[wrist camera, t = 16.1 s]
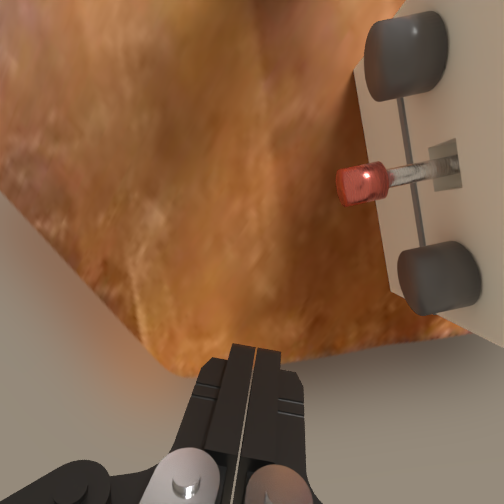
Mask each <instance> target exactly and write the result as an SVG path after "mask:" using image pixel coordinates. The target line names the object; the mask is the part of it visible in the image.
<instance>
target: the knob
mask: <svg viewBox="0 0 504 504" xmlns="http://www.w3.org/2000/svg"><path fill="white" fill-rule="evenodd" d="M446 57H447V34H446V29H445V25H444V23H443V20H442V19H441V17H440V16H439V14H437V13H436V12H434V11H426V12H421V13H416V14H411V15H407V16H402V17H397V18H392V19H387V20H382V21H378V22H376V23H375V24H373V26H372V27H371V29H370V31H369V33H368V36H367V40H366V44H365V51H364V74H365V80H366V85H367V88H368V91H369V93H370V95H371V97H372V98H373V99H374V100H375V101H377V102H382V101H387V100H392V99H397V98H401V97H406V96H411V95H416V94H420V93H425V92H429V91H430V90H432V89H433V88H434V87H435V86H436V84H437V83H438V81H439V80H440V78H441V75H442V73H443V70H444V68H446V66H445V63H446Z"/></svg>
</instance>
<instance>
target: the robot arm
mask: <svg viewBox="0 0 504 504" xmlns="http://www.w3.org/2000/svg"><path fill="white" fill-rule="evenodd" d="M255 348H256V347H251V346H245V345H240V344H234V343H233V344H232V347H231V351H230V354H229V358H228V360H224V359H219V358H213V357H212V358H211V359H210V360H209V361H208V362H207V363H206V364H205V365H204V366H203V367H202V368H201V370H200V373H199V376H198V378H197V381H196V385H195V387H194V389H193V392H192V396H191V398H190V400H189V403H188V406H187V409H186V411H185V414H184V417H183V420H182V423H181V425H180V428H179V431H178V433H177V436H176V439H175V442H174V444H173V446H172V449H171V450H170V452H169V453H168V455H166V456H165V457H164V458H163V459H162V460H161V461H160V462H159V463H158V464H156V465H155V466H153V467H151V468H150V469H148V470H144V471H142V472H138V473H131V474H124V475H117V476H109V474H108V472H107V470H106V469H105V468H104V467H103V466H102V465H101V464H99V463H97V462H94V461H90V460H78V461H73V462H70V463H67V464H65V465H63V466H61V467H59V468H57V469H55V470H53V471H52V472H50V473H48V474H47V475H45V476H43V477H41V478H40V479H38V480H36V481H35V482H33V483H31V484H30V485H28V486H26V487H24V488H23V489H21V490H19V491H17V492H16V493H14V494H12V495H10V496H9V497H7V498H6V499H4V500H2V501H0V504H230V500H231V494H232V488H233V481H234V475H235V470H236V463H237V458H238V451H239V445H240V439H241V433H242V427H243V421H244V415H245V409H246V403H247V396H248V390H249V384H250V378H251V372H252V366H253V360H254V354H255ZM280 362H281V352H279V351H274V350H268V349H262V348H258V349H257V355H256V361H255V367H254V373H253V379H252V385H251V391H250V397H249V403H248V410H247V416H246V422H245V428H244V435H243V441H242V448H241V454H240V461H239V467H238V473H237V480H236V486H235V492H234V500H233V504H322V503H321V502H320V501H319V499H318V498H317V497H316V495H315V494H314V492H313V491H312V489H311V487H310V484H309V482H308V479H307V475H306V454H305V425H304V424H305V423H304V405H303V403H304V393H303V385H302V383H301V381H300V380H299V377H298V376H297V374H296V372H291V371H285V370H280Z"/></svg>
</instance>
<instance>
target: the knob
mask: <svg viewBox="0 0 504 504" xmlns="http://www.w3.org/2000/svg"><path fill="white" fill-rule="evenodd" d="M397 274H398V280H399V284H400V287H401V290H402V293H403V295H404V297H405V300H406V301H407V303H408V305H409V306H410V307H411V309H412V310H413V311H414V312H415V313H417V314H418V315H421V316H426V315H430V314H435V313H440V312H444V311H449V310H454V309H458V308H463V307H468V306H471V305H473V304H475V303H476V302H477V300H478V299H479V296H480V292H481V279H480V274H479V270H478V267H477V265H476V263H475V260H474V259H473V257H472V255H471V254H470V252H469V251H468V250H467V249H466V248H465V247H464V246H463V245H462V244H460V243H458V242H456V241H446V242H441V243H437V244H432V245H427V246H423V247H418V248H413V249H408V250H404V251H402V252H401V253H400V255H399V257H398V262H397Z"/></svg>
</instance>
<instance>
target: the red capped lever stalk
mask: <svg viewBox="0 0 504 504" xmlns="http://www.w3.org/2000/svg"><path fill="white" fill-rule="evenodd" d="M458 173H460V166H459V159H458V154H457V155H452V156H447V157H442V158H438V159H433V160H428V161H423V162H419V163H414V164H409V165H404V166H400V167H395V168H390V169H385V167H384V165H383V164H382V163H381V162H380V161H377V162H372V163H367V164H362V165H358V166H353V167H348V168H343V169H339V170H338V171H337V173H336V188H337V193H338V197H339V200H340V202H341V204H342V205H343V206H344V207H347V206H352V205H357V204H362V203H366V202H371V201H376V200H381V199H384V198H386V196H387V194H388V190H389V188H392V187H397V186H401V185H406V184H411V183H416V182H420V181H425V180H430V179H435V178H439V177H444V176H449V175H454V174H458Z"/></svg>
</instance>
